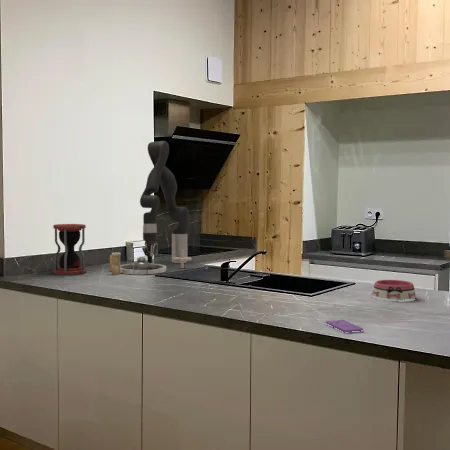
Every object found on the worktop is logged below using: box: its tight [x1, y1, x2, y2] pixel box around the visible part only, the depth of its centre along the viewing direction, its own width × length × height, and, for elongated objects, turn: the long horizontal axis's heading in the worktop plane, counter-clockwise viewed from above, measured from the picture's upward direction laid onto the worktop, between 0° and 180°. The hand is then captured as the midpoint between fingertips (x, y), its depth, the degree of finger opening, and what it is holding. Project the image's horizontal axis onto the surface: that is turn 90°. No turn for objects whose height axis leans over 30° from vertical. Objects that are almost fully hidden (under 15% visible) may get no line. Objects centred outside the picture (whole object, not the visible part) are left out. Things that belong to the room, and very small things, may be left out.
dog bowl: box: [371, 279, 417, 300], centre depth 241 cm, size 18×19×7 cm
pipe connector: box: [173, 250, 192, 269], centre depth 318 cm, size 10×10×10 cm
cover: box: [133, 256, 150, 270], centre depth 305 cm, size 8×8×8 cm
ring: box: [109, 254, 167, 275], centre depth 305 cm, size 26×30×8 cm
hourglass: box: [52, 223, 87, 276], centre depth 296 cm, size 16×16×25 cm
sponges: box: [325, 318, 364, 332], centre depth 189 cm, size 7×13×2 cm, turn 20°
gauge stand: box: [111, 252, 122, 276], centre depth 293 cm, size 4×4×11 cm
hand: (149, 263), depth 313 cm, fingers closed
